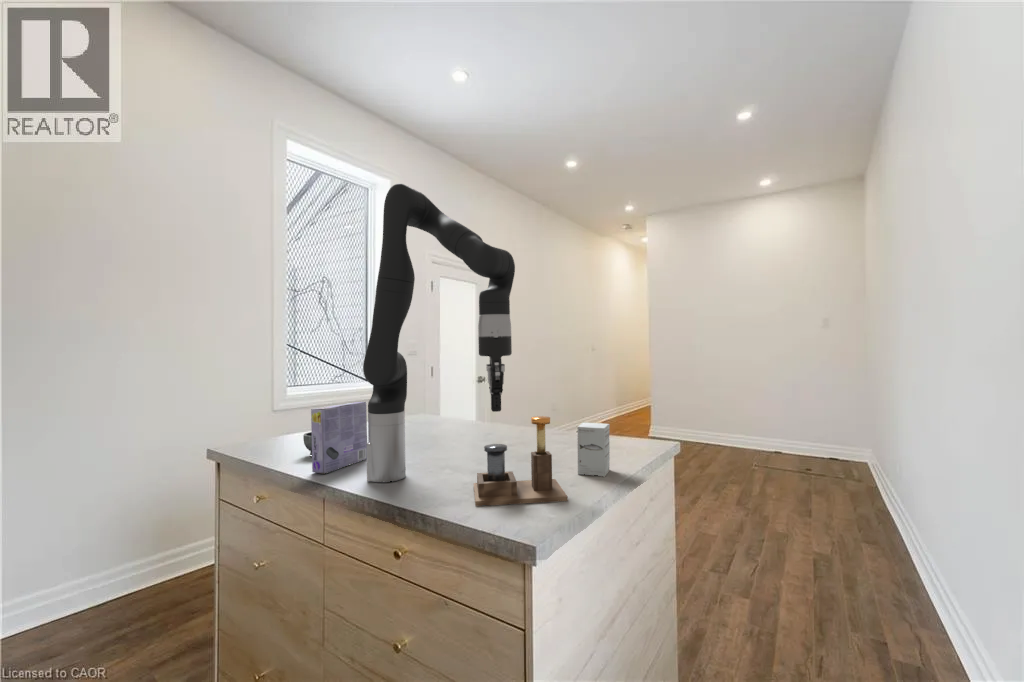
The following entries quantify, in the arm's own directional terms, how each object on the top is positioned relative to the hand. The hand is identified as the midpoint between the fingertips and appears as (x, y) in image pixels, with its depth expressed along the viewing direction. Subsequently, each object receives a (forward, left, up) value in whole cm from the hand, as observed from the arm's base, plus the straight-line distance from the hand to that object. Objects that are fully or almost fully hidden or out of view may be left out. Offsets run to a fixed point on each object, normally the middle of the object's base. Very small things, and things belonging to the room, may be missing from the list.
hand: (496, 410), depth 105 cm
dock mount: (+5, 0, -19) cm, 20 cm away
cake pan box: (-42, +33, -19) cm, 57 cm away
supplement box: (+27, +14, -19) cm, 36 cm away
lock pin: (+10, 0, -12) cm, 16 cm away
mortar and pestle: (-52, +48, -19) cm, 74 cm away
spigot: (0, 0, -18) cm, 18 cm away
